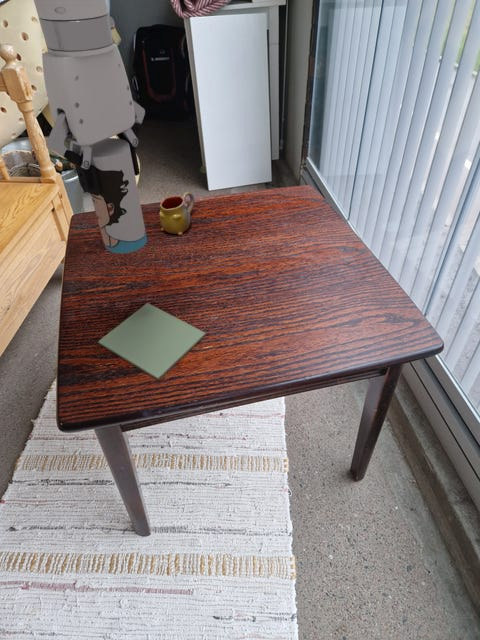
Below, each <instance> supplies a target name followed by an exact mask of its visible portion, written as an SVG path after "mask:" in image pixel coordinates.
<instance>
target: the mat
mask: <svg viewBox="0 0 480 640" xmlns="http://www.w3.org/2000/svg"><path fill="white" fill-rule="evenodd" d="M206 333H207V332H205V331H203V330H201V329H199V328H197V327H195V326H193V325H191V324H189V323H187V322H185V321H183V320H181V319H179V318H178V317H176V316H174V315H171V314H170V313H168V312H166V311H164V310H162V309H160V308H158V307H157V306H155V305H152V304H150V303H148V302H147V303H145V304H144V305H143V306H141V307H140V308H139V309H138V310H136V311H135V312H133V314H131V315H130V316H128V317H127V318H125V320H123V321H122V322H121V323H120V324H119V325H117V326H116V327H115V328H113V329H112V330H111V331H109V332H108V333H107V334H106V335H104V336H103V337H102V338H101V339H99V340H98V341H97V343H98V345H100V346H102V347H103V348H105V349H107V350H109V351H110V352H112V353H113V354H115V355H117V356H118V357H120V358H121V359H124V360H125V361H126V362H128V363H130V364H131V365H133V366H134V367H136V368H138V369H139V370H140V371H143V372H144V373H146V374H147V375H149V376H151V377H152V378H154V379H155V380H158V381H160V380H161V379H162V378H163V377H164V376H165V375H166V374H167V373H168V372H169V371H170V370H171V369H172V368H173V367H175V365H177V364H178V363H179V362H180V361H181V360H182V359H183V358H184V357H185V356H186V355H187V354H188V353H189V352H190V351H191V350H192V349H193V348H194V347H195V346H197V344H198V343H199V342H200V341H202V339H204V338H205V337H206V336H207V334H206Z"/></svg>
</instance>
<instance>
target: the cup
mask: <svg viewBox="0 0 480 640" xmlns="http://www.w3.org/2000/svg"><path fill="white" fill-rule="evenodd" d="M81 149H82V146H80V156H81ZM90 165H91V166H94V167H95V169H96V172H97V176H98V180H99V184H100V188H101V194H100V195H99V196H96V195H93V194H91V193H89V194H90V198H91V200H92V205H93V209H94V212H95V216H96V219H97V223H98V227H99V231H100V233H101V238H102V241H103V245H104V247H105V249H106V250H107V251H109V252H110V253H114V254H129V253H130V254H131V253H133V252H136V251H138V250H140V249H142V248H143V247H144V246H145V245H146V244H147V242H148V237H147V230H146V226H145V222H144V221H145V220H144V216H143V210H142V206H141V205H142V203H141V199H140V195H139V194H140V193H139V189H138V184H137V178H136V176H135V173H134V168H133V162H132V157H131V152H130V146H129V143H128V142H127V141H125V140H122V139H117V137H110V138H108V139H105V140H103V141H100V142H98V143H96V144H93V145H92V154H91V163H90Z"/></svg>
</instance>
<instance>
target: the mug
mask: <svg viewBox="0 0 480 640" xmlns="http://www.w3.org/2000/svg"><path fill="white" fill-rule="evenodd" d="M187 196H188V197H189V200H190V201H189V205H188V203H186V201H185V200H186V198H187ZM194 205H195V196H194V194H192V192H190V191H185V192H184V193H183V194H182V195H179V194H178V195H171V196H167V197H165V198H163V199H162V200H161V201H160V204H159V207H160V211H159V223H160V225H161V228H160V230H161V232H166V233H168V234H172V235H178V236H183V234H184V232H186V231H187V230H188V229H189V228H190V226H191V221H192V219H191V213H192V211H193V208H194Z"/></svg>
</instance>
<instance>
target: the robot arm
mask: <svg viewBox="0 0 480 640" xmlns="http://www.w3.org/2000/svg"><path fill="white" fill-rule="evenodd" d="M33 3H34V7H35V10H36V13H37V17H38V22H39V24H40V28H41V32H42V35H43V39H44V42H45V46H46V50H47V51H45V52H43V53H41V60H42V61H41V62H42V72H43V80H44V86H45V92H46V97H47V101H48V106H49V110H50V111H49V112H50V115H51V118H52V119H51V120H52V122H53V127H52V128H51V131H50V133H49V136H48V137H47V140H46V143H45V147H46V148H47V149H48V150H49V151H51V152H52V153H54V154H56V155H57V156H58V157H60V159H63V160H64V161H66V162H68V163H69V164H70V165H72V166H74V167H75V171H76V175H77V179H78V181H79V185H80V187H81V189H82V190H83V191H84V192H86V193H88V194H90V193H91V194H93V195H96V196H99V195H100V194H101V188H100V184H99V180H98V176H97V172H96V169H95V167H94V166H91V165H90V163H91V154H92V145H93V144H96V143H98V142H100V141H103V140H105V139H108V138H113V137H115V138H117V139H122V140H125V141H127V142H128V143H129V146H130V152H131V157H132V162H133V168H134V173H135V177H137V176H139V175H140V174H141V171H140V167H139V160H138V155H137V149H136V147H137V146H138V145H139V139H138V138H139V135H140V132H141V130H142V123H143V120H144V117H145V115H146V110H145V108H144V107H142V106H141V105H140V104H139V103H138V102H136V101H135V100H134V99H133V96H132V91H131V86H130V81H129V78H128V74H127V72H126V68H125V63H124V62H123V58H122V55H121V53H120V50H119V47H118V45H117V44H116V43H114V38H113V33H112V31H113V30H114V29H115V28H116V22H115V20H114V18H113V17H112V16H110V15H109V11H108V6H107V1H106V0H33ZM65 141H70V143H69V148H68V147H67V146H66V145H65ZM81 146H82V149H81V156H80V147H81ZM91 194H90V195H91Z"/></svg>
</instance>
